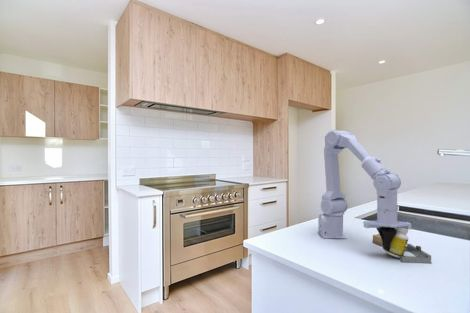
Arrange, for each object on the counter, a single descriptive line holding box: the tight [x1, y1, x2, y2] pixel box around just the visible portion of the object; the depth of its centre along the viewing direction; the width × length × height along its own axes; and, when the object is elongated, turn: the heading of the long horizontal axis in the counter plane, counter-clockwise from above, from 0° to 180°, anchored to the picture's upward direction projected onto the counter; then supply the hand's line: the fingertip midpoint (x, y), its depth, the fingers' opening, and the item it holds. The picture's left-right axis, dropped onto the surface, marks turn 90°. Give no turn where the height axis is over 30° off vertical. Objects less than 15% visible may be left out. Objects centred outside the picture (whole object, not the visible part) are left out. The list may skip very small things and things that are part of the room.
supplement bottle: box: [383, 227, 409, 259], centre depth 81 cm, size 5×5×10 cm
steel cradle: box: [383, 243, 432, 264], centre depth 82 cm, size 9×10×3 cm
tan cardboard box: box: [372, 233, 383, 247], centre depth 93 cm, size 6×4×3 cm, turn 107°
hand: (387, 249), depth 81 cm, fingers closed, pressing on supplement bottle
